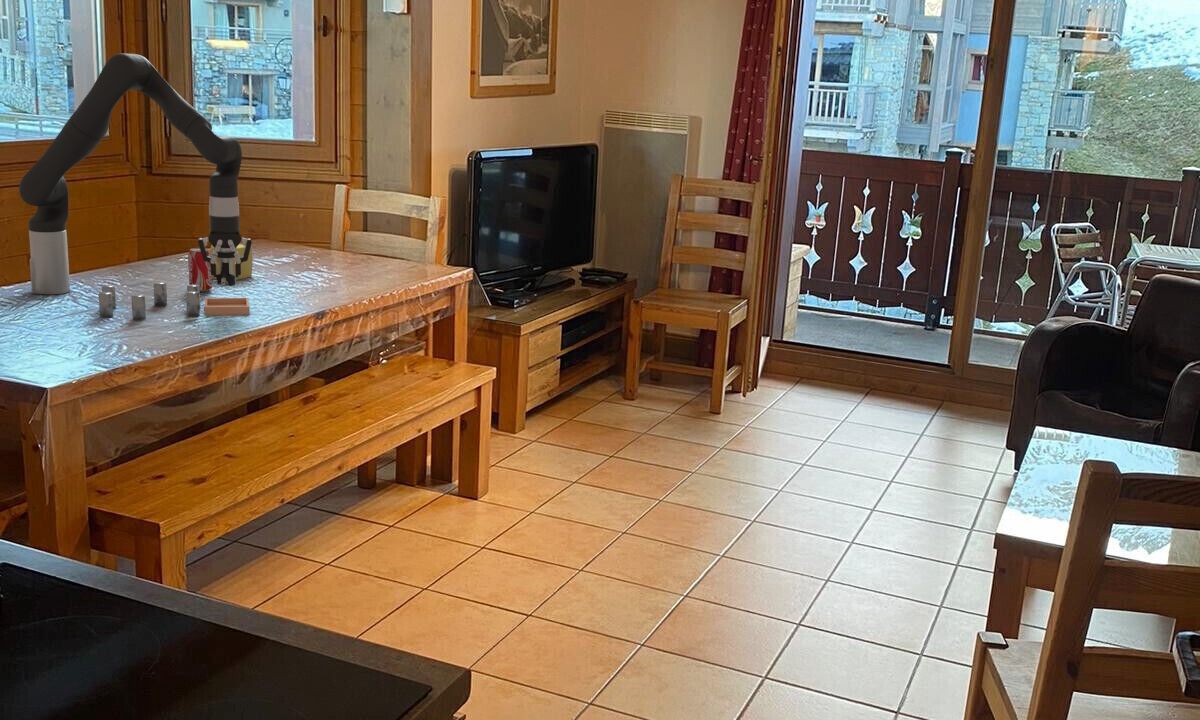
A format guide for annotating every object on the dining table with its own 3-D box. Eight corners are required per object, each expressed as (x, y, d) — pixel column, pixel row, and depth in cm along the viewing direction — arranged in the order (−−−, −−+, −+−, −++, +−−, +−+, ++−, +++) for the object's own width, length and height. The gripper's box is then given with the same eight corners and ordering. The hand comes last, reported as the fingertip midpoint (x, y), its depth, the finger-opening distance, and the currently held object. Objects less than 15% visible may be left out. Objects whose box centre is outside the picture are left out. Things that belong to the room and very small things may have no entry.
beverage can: (204, 293, 323) (203, 252, 320) (184, 291, 325) (183, 250, 322) (216, 289, 329) (215, 248, 326) (196, 287, 331) (195, 246, 327)
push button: (207, 284, 302) (206, 247, 299) (219, 281, 307) (218, 244, 304) (229, 287, 300) (228, 249, 298) (241, 283, 305) (240, 247, 303)
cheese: (203, 278, 345) (202, 245, 342) (227, 272, 354) (226, 241, 352) (231, 282, 341) (230, 249, 339) (254, 276, 351) (253, 244, 348)
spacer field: (97, 320, 286) (96, 297, 284) (104, 304, 303) (103, 282, 302) (199, 319, 294) (198, 296, 292) (200, 303, 311) (199, 282, 310)
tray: (205, 315, 299) (204, 307, 298) (205, 305, 309) (205, 298, 308) (249, 314, 302) (249, 306, 302) (248, 305, 312) (248, 297, 312)
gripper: (195, 215, 293) (197, 279, 297) (253, 215, 298) (254, 279, 302) (195, 211, 300) (197, 274, 304) (252, 211, 304) (253, 274, 309)
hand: (226, 276), depth 303 cm, fingers closed on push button, 5 cm apart
